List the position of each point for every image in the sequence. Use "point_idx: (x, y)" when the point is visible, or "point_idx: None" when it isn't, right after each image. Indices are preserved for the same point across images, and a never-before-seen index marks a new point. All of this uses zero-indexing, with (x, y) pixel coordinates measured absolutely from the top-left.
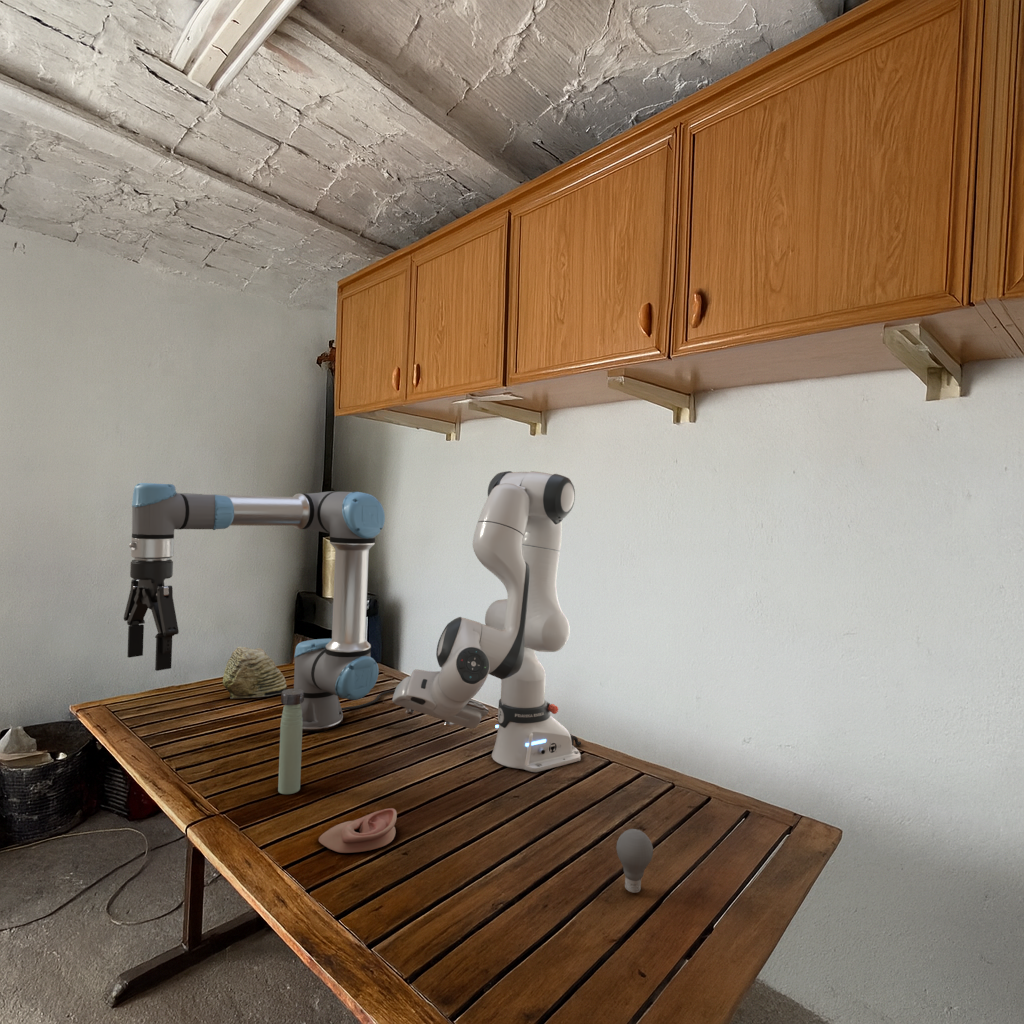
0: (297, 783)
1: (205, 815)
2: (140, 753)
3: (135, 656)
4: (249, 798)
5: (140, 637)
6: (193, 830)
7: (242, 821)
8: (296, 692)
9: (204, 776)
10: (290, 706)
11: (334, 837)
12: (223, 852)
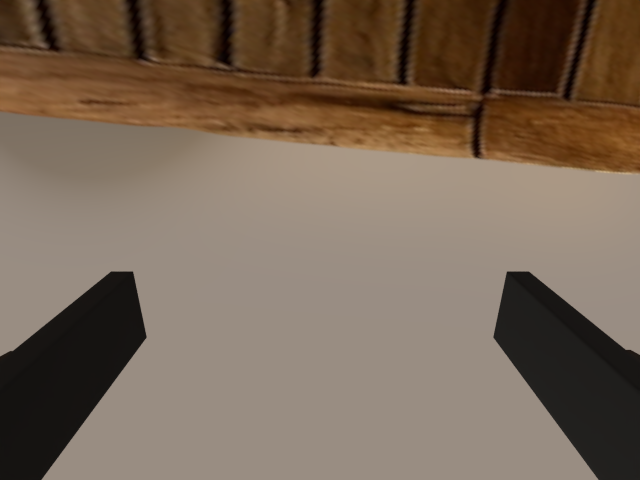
0: None
1: (468, 118)
2: (79, 84)
3: (139, 308)
4: (478, 14)
5: (59, 362)
6: (498, 158)
7: (546, 79)
8: None
9: (303, 32)
10: None
11: None
12: (601, 157)
